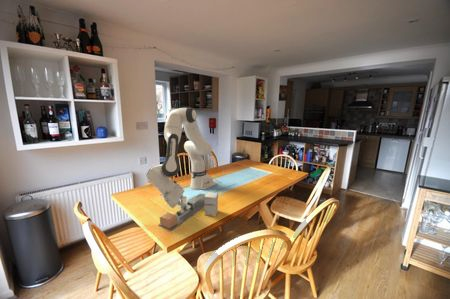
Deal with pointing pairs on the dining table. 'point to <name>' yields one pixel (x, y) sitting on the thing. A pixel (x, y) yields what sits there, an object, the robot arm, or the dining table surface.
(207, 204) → the supplement box
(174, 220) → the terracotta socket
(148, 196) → the dining table surface
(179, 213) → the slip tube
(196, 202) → the steel sleeve
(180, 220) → the charcoal board
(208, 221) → the dining table surface
